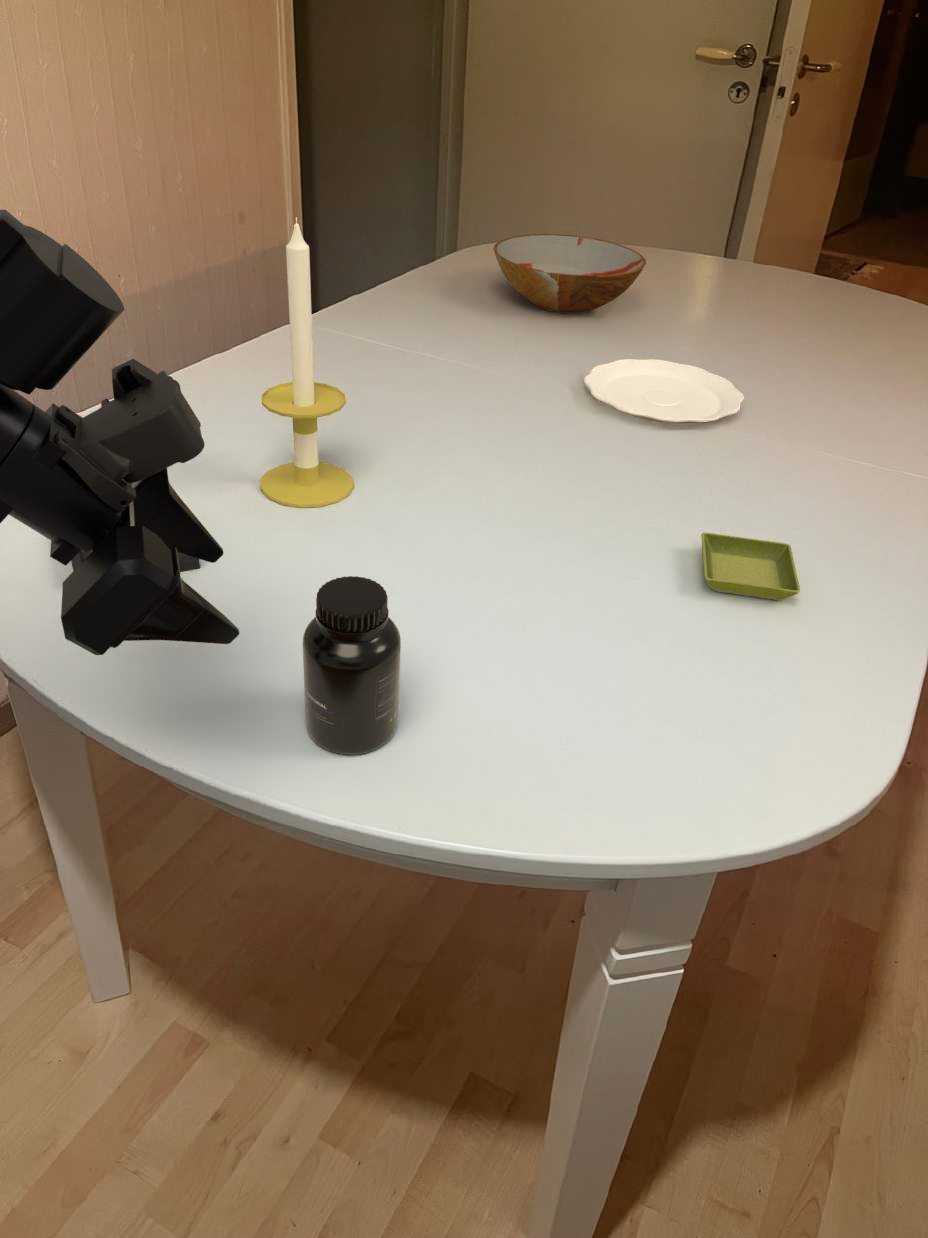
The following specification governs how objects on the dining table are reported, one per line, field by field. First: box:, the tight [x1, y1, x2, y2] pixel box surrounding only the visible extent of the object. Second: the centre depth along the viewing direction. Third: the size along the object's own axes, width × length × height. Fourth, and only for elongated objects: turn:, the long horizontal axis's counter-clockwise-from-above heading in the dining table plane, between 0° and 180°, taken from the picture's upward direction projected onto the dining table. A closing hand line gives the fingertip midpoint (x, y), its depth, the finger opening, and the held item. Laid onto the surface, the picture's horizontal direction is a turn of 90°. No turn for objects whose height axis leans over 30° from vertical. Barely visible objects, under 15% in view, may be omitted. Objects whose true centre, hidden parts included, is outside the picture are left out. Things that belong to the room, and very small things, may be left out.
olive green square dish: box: [700, 532, 801, 601], centre depth 88 cm, size 9×9×2 cm
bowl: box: [493, 233, 647, 314], centre depth 154 cm, size 25×25×8 cm
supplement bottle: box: [302, 575, 402, 756], centre depth 65 cm, size 7×7×12 cm
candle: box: [259, 216, 355, 509], centre depth 91 cm, size 10×10×27 cm
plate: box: [583, 358, 745, 424], centre depth 124 cm, size 21×21×2 cm
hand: (226, 594), depth 59 cm, fingers open, 9 cm apart
